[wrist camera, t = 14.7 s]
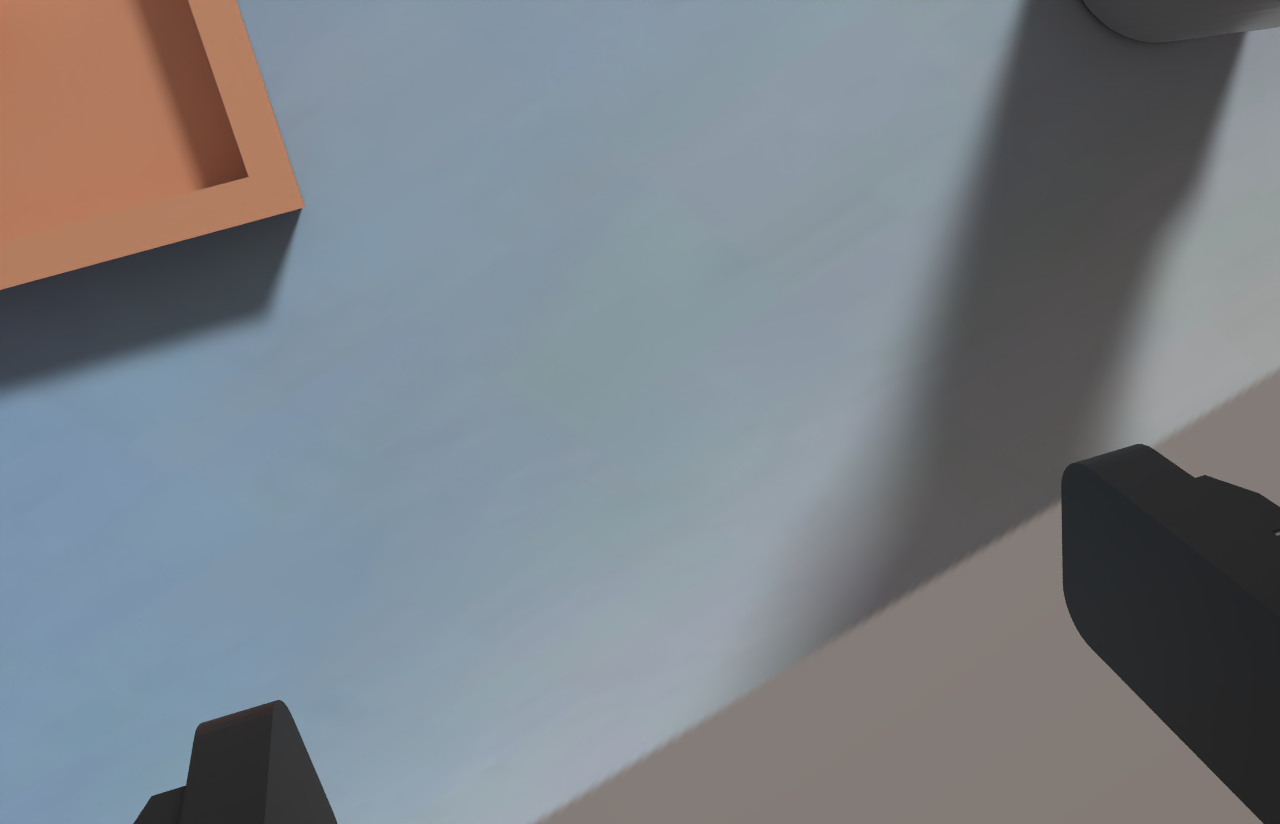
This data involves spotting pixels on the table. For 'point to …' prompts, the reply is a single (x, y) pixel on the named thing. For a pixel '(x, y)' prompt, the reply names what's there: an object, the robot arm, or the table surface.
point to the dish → (129, 131)
